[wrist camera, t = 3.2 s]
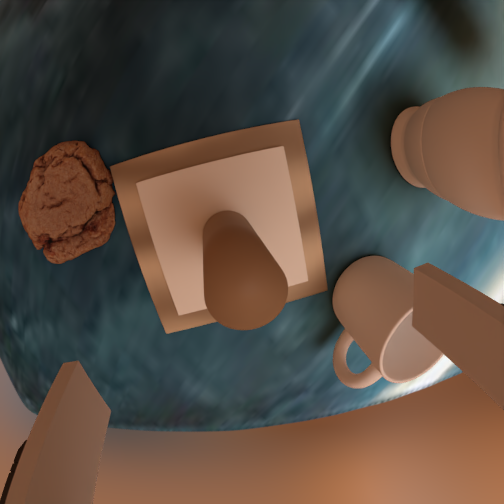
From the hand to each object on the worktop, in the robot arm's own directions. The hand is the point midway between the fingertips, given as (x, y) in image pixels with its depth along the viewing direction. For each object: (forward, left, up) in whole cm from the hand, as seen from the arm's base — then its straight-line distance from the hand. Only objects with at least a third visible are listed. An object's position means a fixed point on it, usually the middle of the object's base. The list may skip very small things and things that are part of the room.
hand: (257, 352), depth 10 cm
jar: (-4, +21, -17) cm, 27 cm away
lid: (0, 0, -16) cm, 16 cm away
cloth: (0, 0, -17) cm, 17 cm away
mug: (+11, +11, -17) cm, 23 cm away
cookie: (-7, -13, -17) cm, 22 cm away
